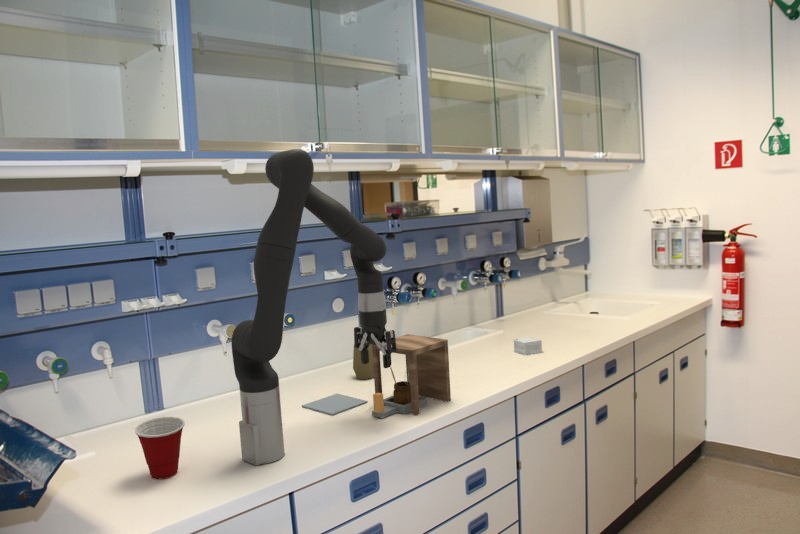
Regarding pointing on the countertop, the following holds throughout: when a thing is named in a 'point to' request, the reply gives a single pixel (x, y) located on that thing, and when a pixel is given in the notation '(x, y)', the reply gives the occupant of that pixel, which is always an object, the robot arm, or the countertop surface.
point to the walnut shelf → (420, 367)
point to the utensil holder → (401, 391)
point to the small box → (527, 346)
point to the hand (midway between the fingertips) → (376, 365)
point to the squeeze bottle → (363, 369)
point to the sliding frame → (392, 405)
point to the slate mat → (334, 404)
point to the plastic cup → (161, 445)
